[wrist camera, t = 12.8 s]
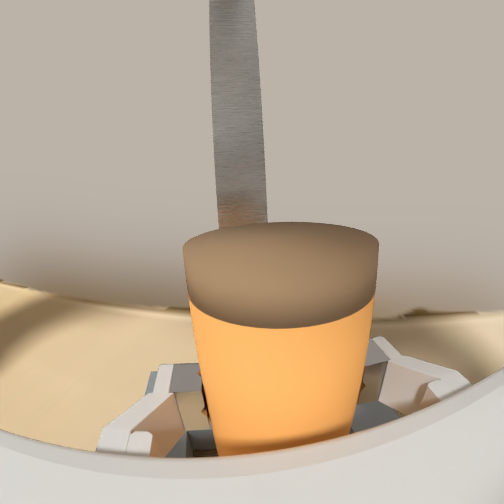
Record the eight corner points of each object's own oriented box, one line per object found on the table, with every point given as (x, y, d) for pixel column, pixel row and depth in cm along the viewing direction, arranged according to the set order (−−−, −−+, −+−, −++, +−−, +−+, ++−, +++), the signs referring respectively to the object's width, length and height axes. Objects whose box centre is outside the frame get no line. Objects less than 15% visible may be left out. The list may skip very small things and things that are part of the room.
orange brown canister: (232, 531, 8) (167, 279, 5) (225, 454, 13) (191, 228, 10) (344, 512, 9) (419, 256, 5) (316, 441, 13) (334, 219, 10)
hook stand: (250, 499, 11) (216, -150, 2) (231, 361, 24) (209, -42, 15) (307, 489, 11) (271, -148, 2) (266, 357, 24) (244, -43, 15)
